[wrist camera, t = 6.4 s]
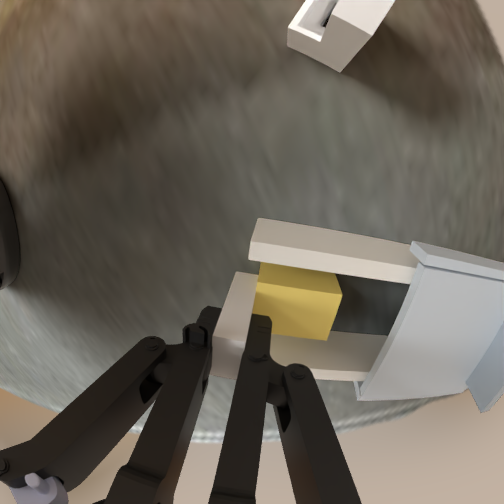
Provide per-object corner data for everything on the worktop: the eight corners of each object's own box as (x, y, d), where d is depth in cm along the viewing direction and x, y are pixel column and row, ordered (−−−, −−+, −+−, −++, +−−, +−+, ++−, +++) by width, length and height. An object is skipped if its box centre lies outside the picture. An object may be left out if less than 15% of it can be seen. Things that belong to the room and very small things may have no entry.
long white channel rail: (242, 328, 21) (233, 368, 17) (258, 217, 18) (250, 241, 13) (448, 346, 20) (466, 376, 16) (487, 262, 17) (516, 286, 13)
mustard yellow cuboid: (254, 300, 20) (249, 330, 17) (261, 257, 19) (257, 282, 15) (321, 310, 20) (326, 340, 16) (333, 269, 18) (342, 295, 15)
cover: (353, 381, 18) (365, 443, 13) (412, 240, 14) (465, 291, 8) (454, 377, 18) (476, 423, 12) (514, 265, 13) (558, 303, 8)
